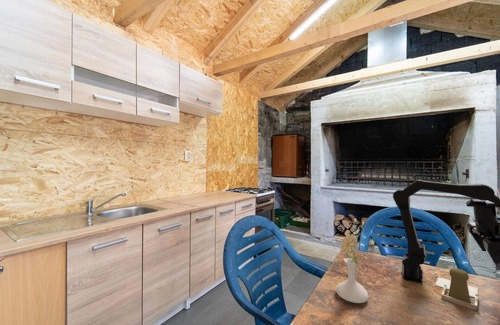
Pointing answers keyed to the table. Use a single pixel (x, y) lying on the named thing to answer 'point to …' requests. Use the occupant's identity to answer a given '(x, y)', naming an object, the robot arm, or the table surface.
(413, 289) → the table surface
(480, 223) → the robot arm
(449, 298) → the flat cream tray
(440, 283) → the white flat panel
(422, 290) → the table surface
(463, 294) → the cork
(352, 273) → the flower in vase
